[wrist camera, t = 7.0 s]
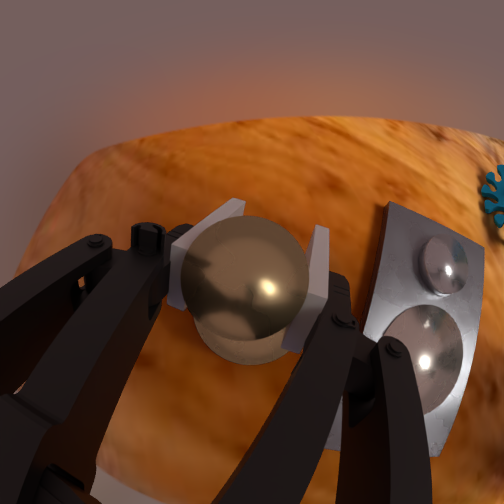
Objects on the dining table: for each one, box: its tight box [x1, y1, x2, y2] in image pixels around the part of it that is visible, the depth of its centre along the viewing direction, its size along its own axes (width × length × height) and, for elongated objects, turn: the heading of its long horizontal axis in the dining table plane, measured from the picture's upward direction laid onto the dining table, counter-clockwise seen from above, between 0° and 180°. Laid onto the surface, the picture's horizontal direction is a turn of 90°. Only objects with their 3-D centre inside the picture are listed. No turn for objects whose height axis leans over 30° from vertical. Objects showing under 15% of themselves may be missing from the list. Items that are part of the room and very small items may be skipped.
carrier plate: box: [324, 201, 484, 457], centre depth 17 cm, size 12×20×2 cm, turn 160°
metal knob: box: [180, 216, 309, 365], centre depth 13 cm, size 7×7×10 cm
